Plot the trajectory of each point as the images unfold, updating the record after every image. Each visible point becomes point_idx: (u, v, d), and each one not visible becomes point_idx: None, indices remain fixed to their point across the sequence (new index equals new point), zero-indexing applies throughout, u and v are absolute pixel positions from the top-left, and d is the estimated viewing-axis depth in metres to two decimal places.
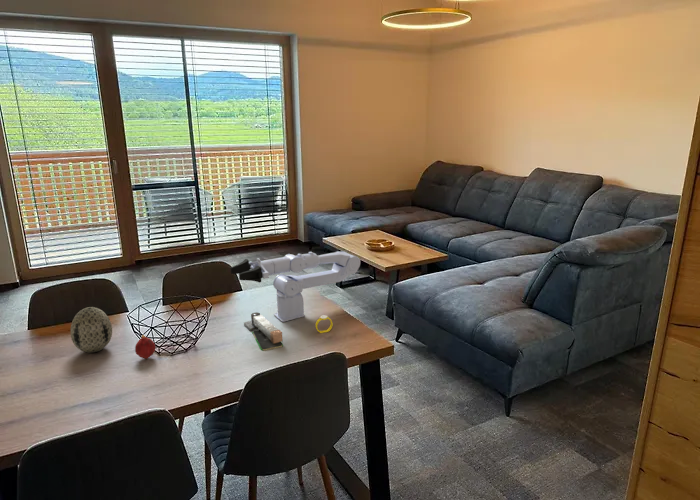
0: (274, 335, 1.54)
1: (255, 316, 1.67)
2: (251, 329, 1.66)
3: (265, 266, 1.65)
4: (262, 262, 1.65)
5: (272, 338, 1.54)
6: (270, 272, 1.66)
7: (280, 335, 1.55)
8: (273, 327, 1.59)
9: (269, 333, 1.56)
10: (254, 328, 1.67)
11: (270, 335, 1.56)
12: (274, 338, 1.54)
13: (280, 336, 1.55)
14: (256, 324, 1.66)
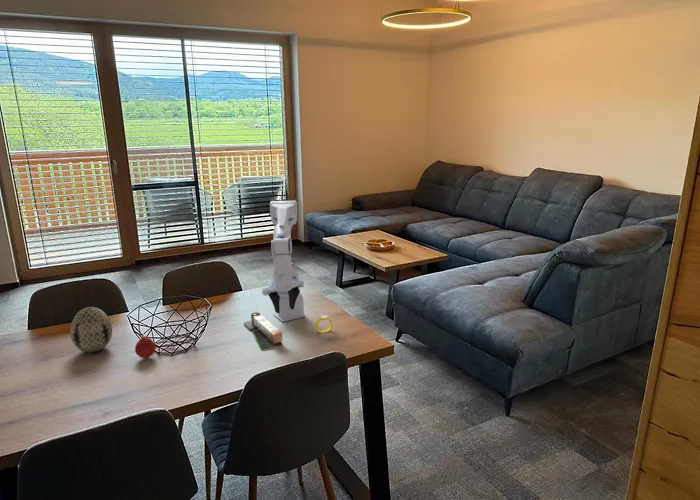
0: (274, 335, 1.54)
1: (255, 316, 1.67)
2: (251, 329, 1.66)
3: (291, 281, 1.57)
4: (289, 284, 1.56)
5: (272, 338, 1.54)
6: None
7: (280, 335, 1.55)
8: (273, 327, 1.59)
9: (269, 333, 1.56)
10: (254, 328, 1.67)
11: (270, 335, 1.56)
12: (274, 338, 1.54)
13: (280, 336, 1.55)
14: (256, 324, 1.66)
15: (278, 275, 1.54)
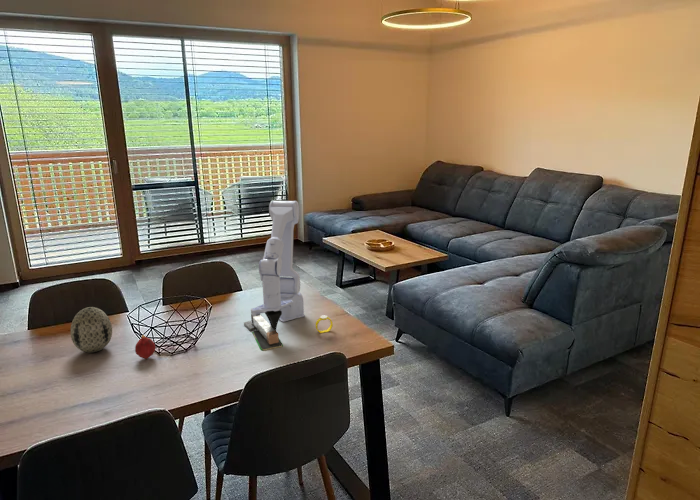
0: (270, 336, 1.53)
1: (255, 316, 1.67)
2: (251, 329, 1.66)
3: (280, 302, 1.57)
4: (277, 305, 1.56)
5: (268, 339, 1.54)
6: None
7: (276, 336, 1.54)
8: (270, 328, 1.58)
9: (266, 334, 1.56)
10: (254, 328, 1.67)
11: (266, 336, 1.55)
12: (270, 339, 1.53)
13: (276, 337, 1.54)
14: (255, 324, 1.66)
15: (267, 295, 1.54)
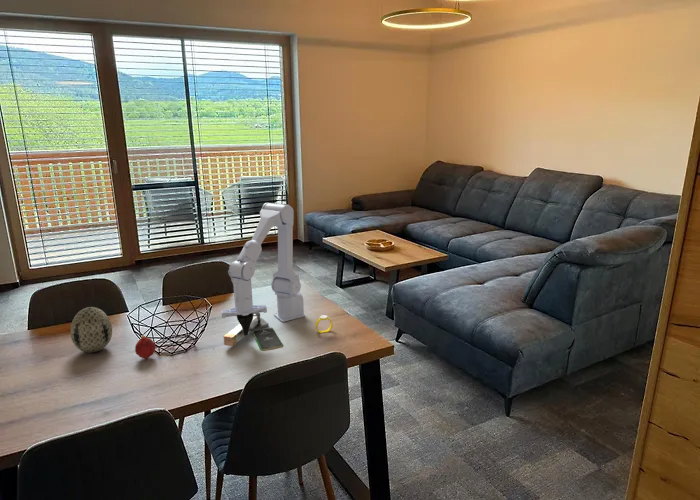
0: (224, 337, 1.52)
1: None
2: None
3: (251, 306, 1.54)
4: (247, 309, 1.52)
5: None
6: None
7: (230, 340, 1.52)
8: (238, 330, 1.56)
9: None
10: (254, 328, 1.67)
11: None
12: (225, 340, 1.53)
13: (230, 341, 1.52)
14: None
15: (236, 299, 1.51)
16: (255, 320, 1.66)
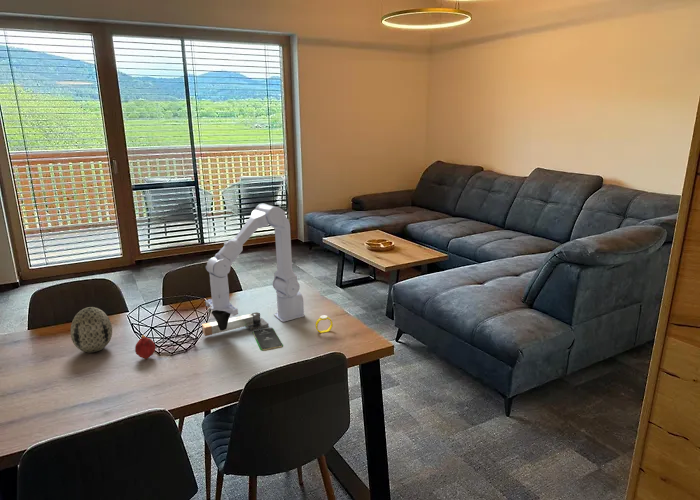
0: (202, 325, 1.61)
1: (250, 314, 1.69)
2: (251, 329, 1.66)
3: (221, 304, 1.55)
4: (216, 305, 1.56)
5: None
6: (227, 297, 1.57)
7: (204, 329, 1.59)
8: None
9: None
10: (254, 328, 1.67)
11: None
12: (202, 328, 1.61)
13: (204, 330, 1.59)
14: None
15: None
16: (249, 319, 1.67)
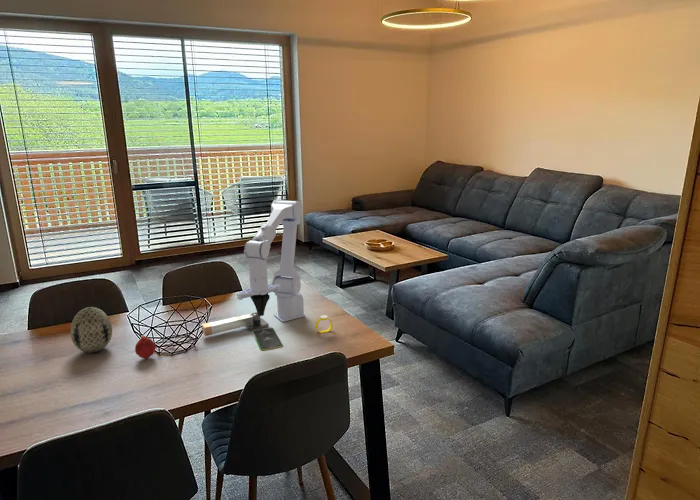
0: (202, 325, 1.61)
1: (250, 314, 1.69)
2: (251, 329, 1.66)
3: (267, 285, 1.54)
4: (264, 288, 1.52)
5: None
6: None
7: (204, 329, 1.59)
8: (218, 323, 1.62)
9: None
10: (254, 328, 1.67)
11: None
12: (202, 328, 1.61)
13: (204, 330, 1.59)
14: None
15: (253, 279, 1.50)
16: (249, 319, 1.67)
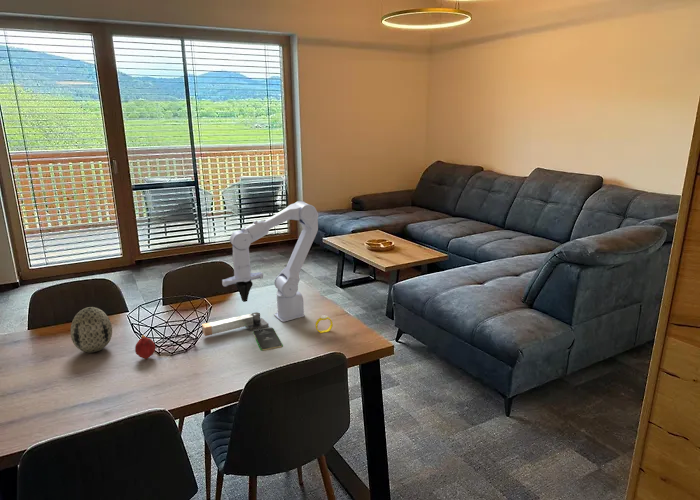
0: (202, 325, 1.61)
1: (250, 314, 1.69)
2: (251, 329, 1.66)
3: (250, 273, 1.66)
4: (247, 276, 1.64)
5: None
6: None
7: (204, 329, 1.59)
8: (218, 323, 1.62)
9: None
10: (254, 328, 1.67)
11: None
12: (202, 328, 1.61)
13: (204, 330, 1.59)
14: None
15: (237, 267, 1.62)
16: (249, 319, 1.67)
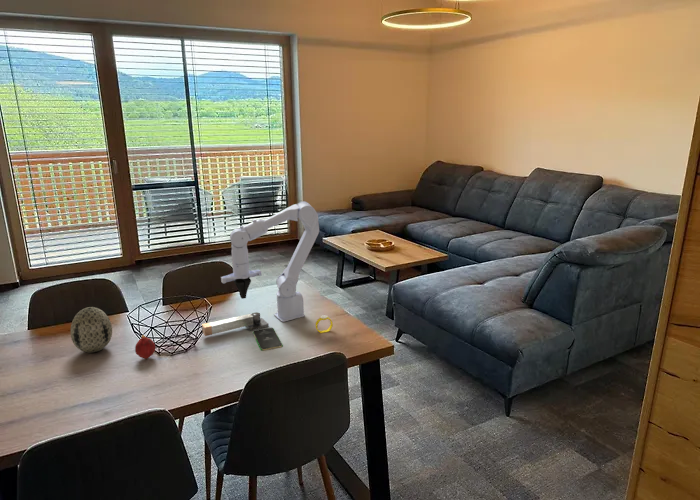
0: (202, 325, 1.61)
1: (250, 314, 1.69)
2: (251, 329, 1.66)
3: None
4: (246, 273, 1.67)
5: None
6: None
7: (204, 329, 1.59)
8: (218, 323, 1.62)
9: None
10: (254, 328, 1.67)
11: None
12: (202, 328, 1.61)
13: (204, 330, 1.59)
14: None
15: (235, 264, 1.65)
16: (249, 319, 1.67)
